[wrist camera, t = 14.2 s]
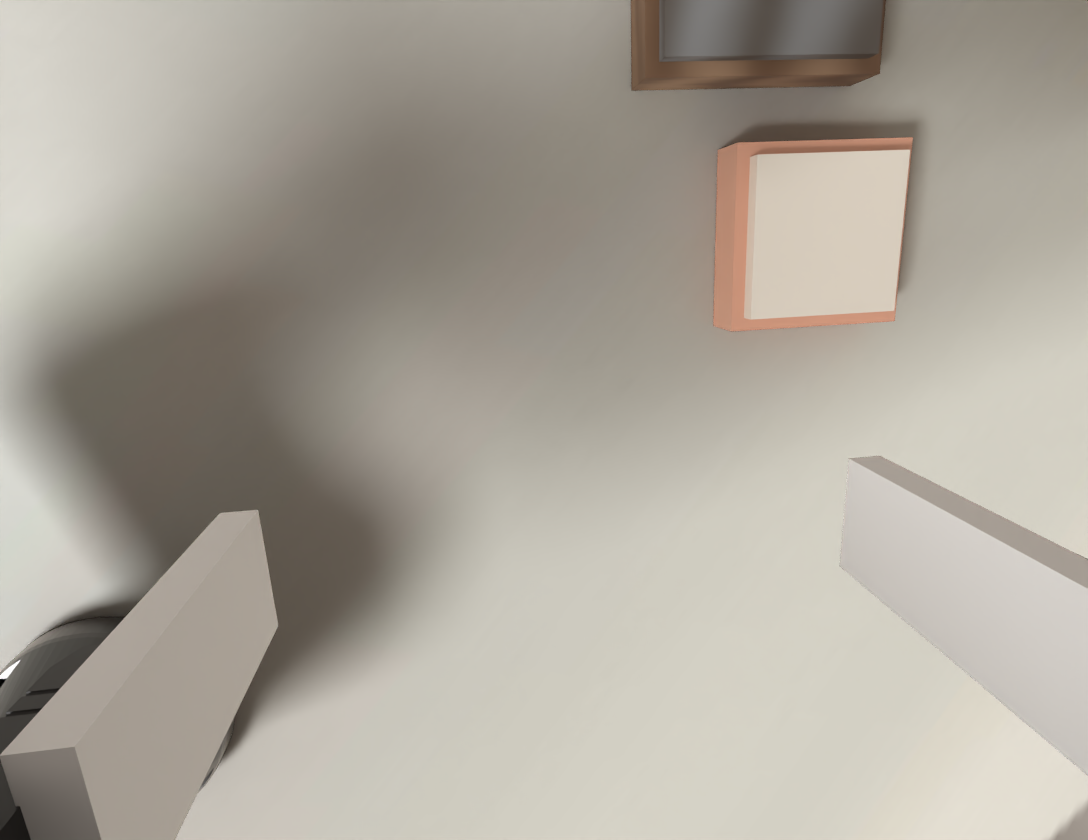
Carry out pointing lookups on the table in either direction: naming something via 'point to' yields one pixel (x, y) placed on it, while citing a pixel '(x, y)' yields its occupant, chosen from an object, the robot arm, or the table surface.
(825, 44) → the walnut plinth
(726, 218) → the terracotta plinth
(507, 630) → the table surface
